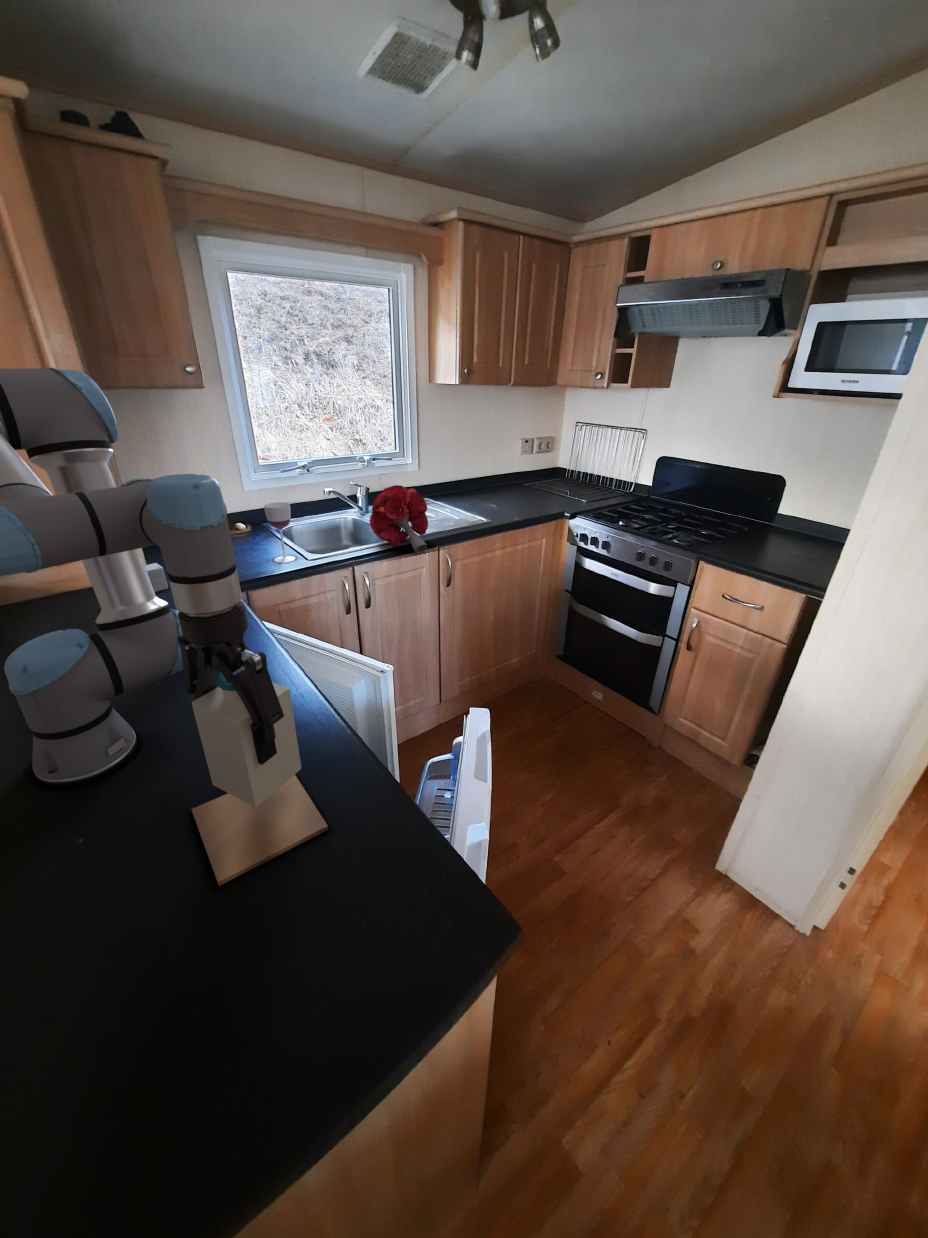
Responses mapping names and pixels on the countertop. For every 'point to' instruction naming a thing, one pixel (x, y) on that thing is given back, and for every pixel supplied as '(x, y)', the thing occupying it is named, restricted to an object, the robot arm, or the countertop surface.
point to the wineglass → (279, 523)
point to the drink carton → (244, 744)
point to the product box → (156, 577)
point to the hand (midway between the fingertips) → (243, 746)
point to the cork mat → (256, 828)
